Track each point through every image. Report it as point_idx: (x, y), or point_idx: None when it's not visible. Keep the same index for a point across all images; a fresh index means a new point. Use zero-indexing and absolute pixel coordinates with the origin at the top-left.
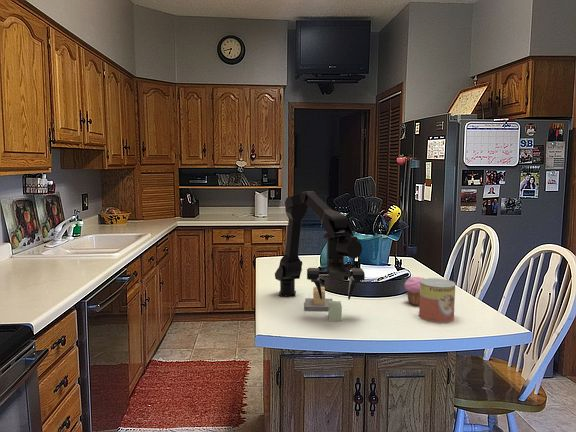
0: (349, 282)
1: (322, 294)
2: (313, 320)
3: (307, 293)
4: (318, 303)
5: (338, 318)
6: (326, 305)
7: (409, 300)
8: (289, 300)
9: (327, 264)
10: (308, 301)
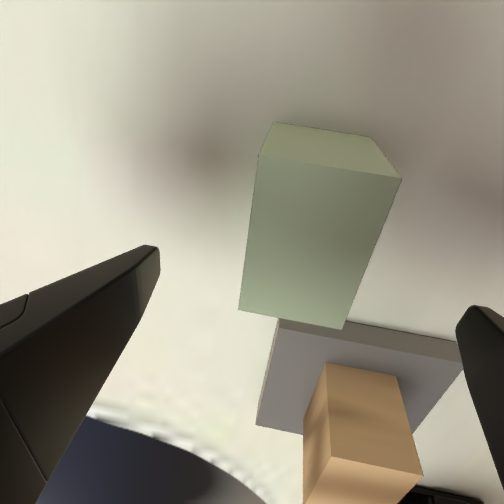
0: (38, 486)
1: (347, 434)
2: (497, 166)
3: None
4: (366, 378)
5: (297, 130)
6: (316, 356)
7: None
8: (458, 462)
9: None
10: None
